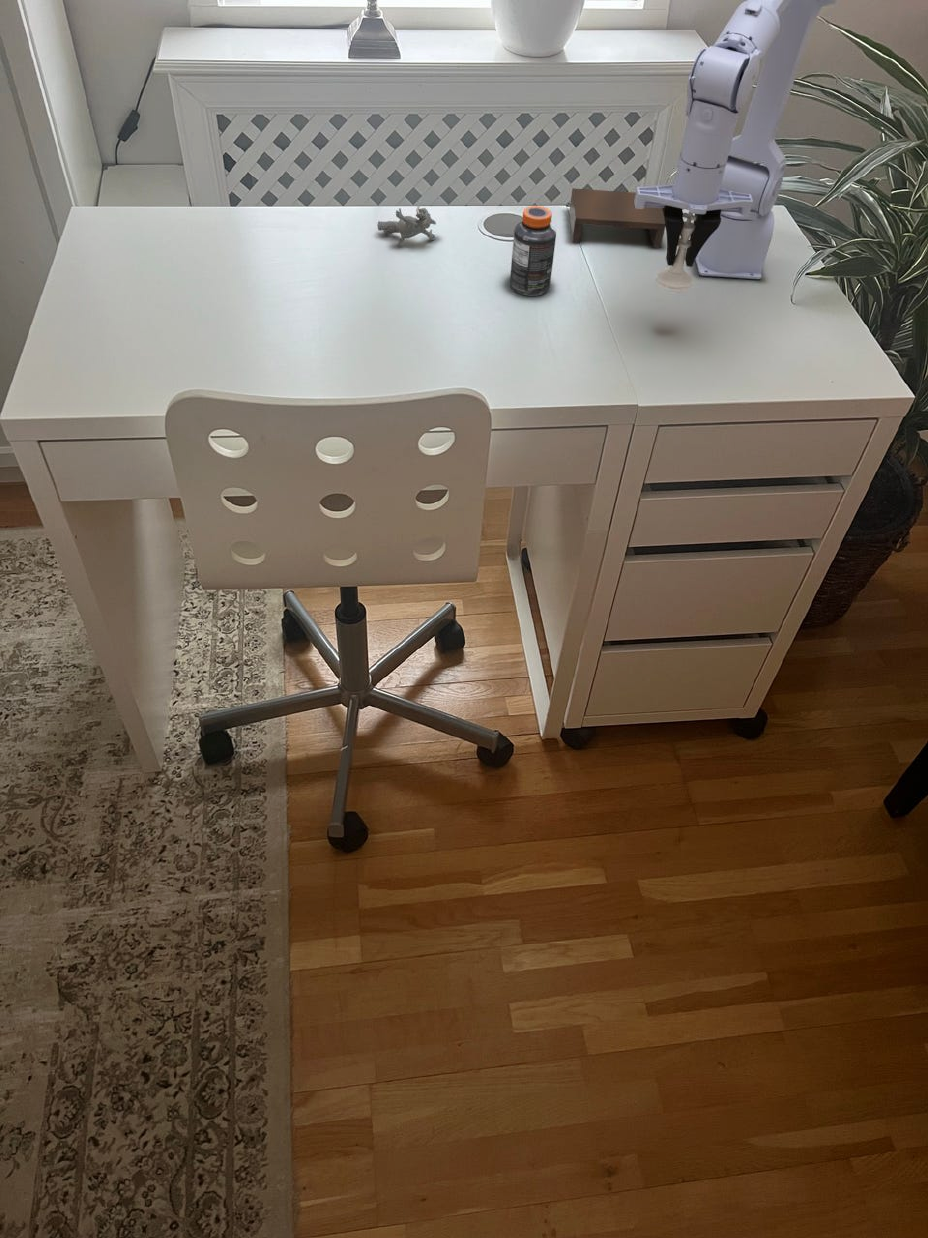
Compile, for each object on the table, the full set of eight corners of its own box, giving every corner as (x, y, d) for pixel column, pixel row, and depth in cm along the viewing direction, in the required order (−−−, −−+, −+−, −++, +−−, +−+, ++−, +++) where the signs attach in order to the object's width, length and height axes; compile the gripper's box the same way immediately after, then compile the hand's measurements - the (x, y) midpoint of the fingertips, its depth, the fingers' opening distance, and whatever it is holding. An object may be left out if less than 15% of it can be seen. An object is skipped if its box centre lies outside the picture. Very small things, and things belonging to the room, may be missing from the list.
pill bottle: (550, 277, 144) (560, 203, 135) (548, 298, 140) (558, 223, 131) (510, 273, 144) (517, 199, 135) (507, 294, 140) (515, 219, 131)
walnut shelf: (653, 217, 158) (659, 193, 155) (660, 248, 151) (666, 223, 148) (569, 212, 158) (572, 188, 155) (572, 242, 151) (575, 217, 148)
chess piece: (683, 295, 128) (702, 223, 121) (649, 283, 130) (666, 211, 122) (697, 280, 131) (716, 208, 123) (664, 268, 132) (681, 197, 125)
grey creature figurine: (403, 221, 153) (450, 217, 148) (398, 259, 153) (444, 256, 148) (364, 195, 144) (412, 190, 140) (358, 235, 145) (406, 232, 140)
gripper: (647, 169, 115) (627, 274, 125) (768, 176, 115) (737, 281, 126) (642, 143, 120) (622, 247, 130) (757, 151, 120) (729, 253, 130)
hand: (678, 262), depth 128 cm, fingers closed on chess piece
